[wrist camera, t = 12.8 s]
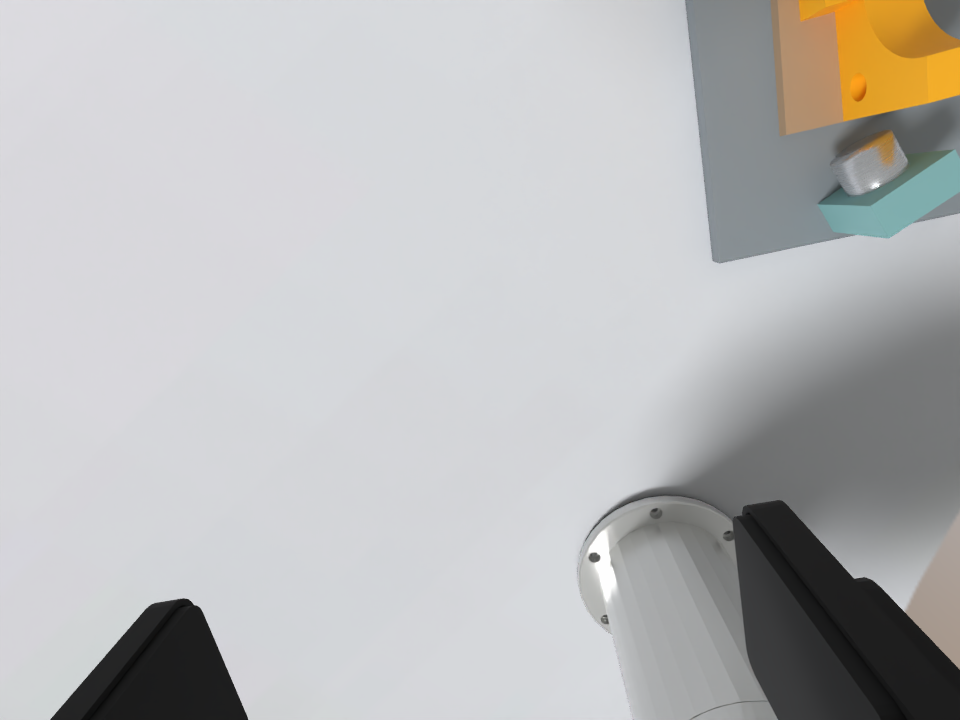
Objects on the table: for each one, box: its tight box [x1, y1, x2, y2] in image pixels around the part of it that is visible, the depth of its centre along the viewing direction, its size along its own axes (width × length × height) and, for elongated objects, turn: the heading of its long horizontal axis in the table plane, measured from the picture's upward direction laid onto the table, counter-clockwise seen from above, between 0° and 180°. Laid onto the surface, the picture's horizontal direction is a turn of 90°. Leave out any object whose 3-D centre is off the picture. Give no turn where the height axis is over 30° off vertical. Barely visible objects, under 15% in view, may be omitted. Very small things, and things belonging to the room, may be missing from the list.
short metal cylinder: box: [830, 130, 910, 197], centre depth 30 cm, size 4×3×3 cm, turn 38°
